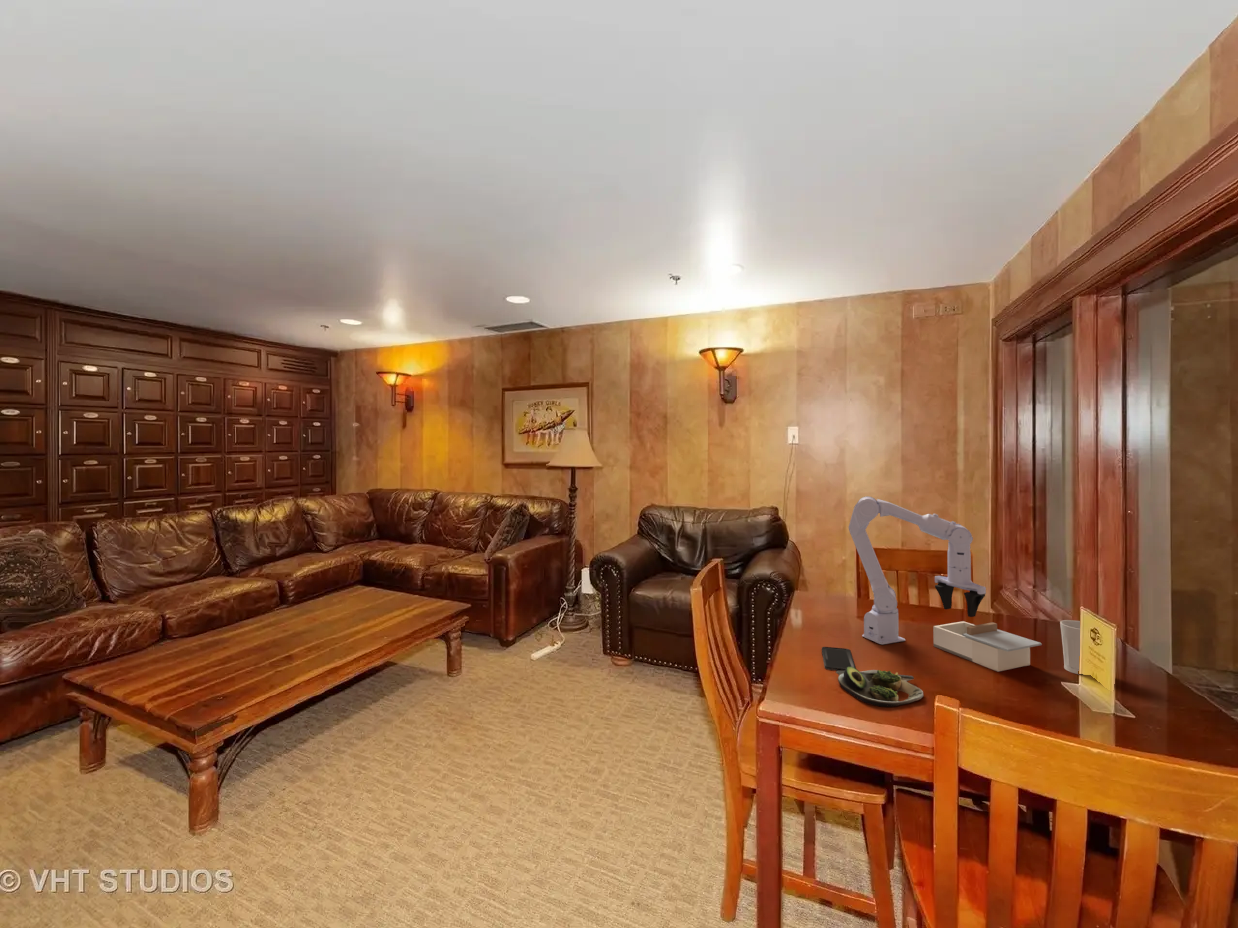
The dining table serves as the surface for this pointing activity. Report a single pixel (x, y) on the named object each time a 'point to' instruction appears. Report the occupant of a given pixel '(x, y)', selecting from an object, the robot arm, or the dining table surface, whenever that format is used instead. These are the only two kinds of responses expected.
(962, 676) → the dining table surface
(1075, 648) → the cup
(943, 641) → the carton
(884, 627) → the robot arm
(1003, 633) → the lid
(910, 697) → the salad plate
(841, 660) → the phone
